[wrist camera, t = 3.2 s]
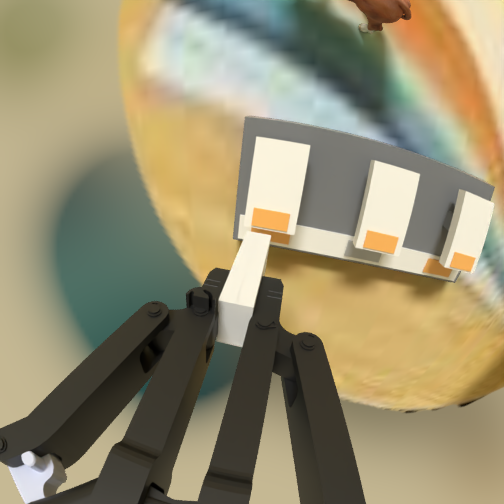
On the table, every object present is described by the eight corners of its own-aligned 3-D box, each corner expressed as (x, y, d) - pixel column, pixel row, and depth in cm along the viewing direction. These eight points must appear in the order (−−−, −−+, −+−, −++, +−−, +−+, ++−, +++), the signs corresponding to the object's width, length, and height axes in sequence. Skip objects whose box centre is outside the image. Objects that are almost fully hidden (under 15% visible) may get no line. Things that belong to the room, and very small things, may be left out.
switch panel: (485, 181, 20) (502, 192, 17) (448, 272, 26) (459, 291, 23) (249, 115, 22) (241, 117, 19) (237, 230, 29) (228, 246, 26)
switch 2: (487, 200, 18) (495, 203, 17) (467, 269, 21) (473, 274, 19) (459, 188, 19) (466, 191, 17) (438, 262, 21) (444, 267, 20)
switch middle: (414, 172, 19) (420, 174, 18) (394, 251, 22) (399, 257, 20) (370, 159, 19) (375, 160, 18) (352, 242, 22) (355, 248, 21)
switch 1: (309, 145, 20) (310, 145, 19) (294, 231, 22) (294, 235, 21) (258, 137, 20) (256, 136, 19) (246, 222, 23) (243, 226, 22)
